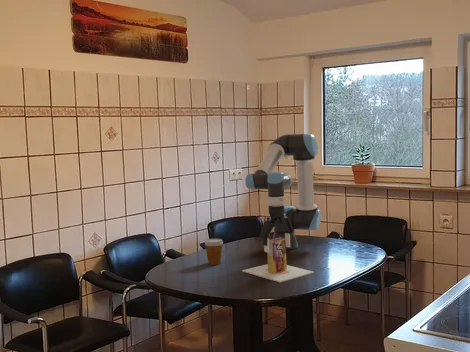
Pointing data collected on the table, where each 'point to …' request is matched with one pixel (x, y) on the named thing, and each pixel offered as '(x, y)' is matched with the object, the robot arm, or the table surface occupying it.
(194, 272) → the table surface
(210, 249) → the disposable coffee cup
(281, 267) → the candy box
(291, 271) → the mat
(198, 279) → the table surface
